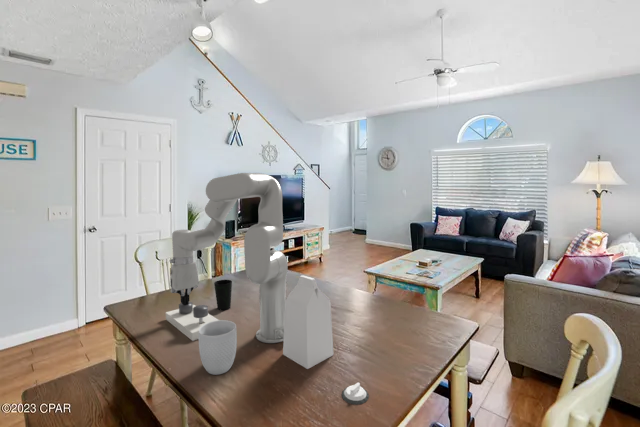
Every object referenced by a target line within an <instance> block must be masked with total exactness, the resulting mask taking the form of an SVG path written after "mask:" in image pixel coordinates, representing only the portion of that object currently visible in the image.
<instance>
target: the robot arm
mask: <svg viewBox="0 0 640 427" xmlns="http://www.w3.org/2000/svg"><path fill="white" fill-rule="evenodd" d="M205 195H206V196H207V197H206V198H208V199H209V201H208V202H207V203H206V205H205V207H204V212H205V214H206V215H207V216H208V217H209V218H210V221H209V222H208V224H207V226H206V227H205V228H204V229H197V230H193V231H191V230H189V229H178V230H173V232H172V234H171V237H172V238H171V240H172V259H169V263H170V264H171V268H170V276H169V278H170V279H169V282H170V283H169V284H170V293H172V294H177V295H180V303H182V304H183V305H186V304H187V305H188V304H189V302H190V295H191V293H192V292H193V290H195V289H197V288H198V286H199V281H200V280H199V273H198V266H197V263H196V262H195V261H194V252H196V251H199V250H202V249H206V248H210V247H212V246H214V245H215V244H216V243H217V242H218V241H219V239H220V238H221V236H222V235H223V234H224V231H225V229H226V218H227V217H228V215H229V213H230V212H231V210H232V209H233V208H234V207H235V205H236V203H237V201H238V200H239V199H249V198H259V199H260V202H259V204H258V210H257V211H258V222H257V223H255V224H253V225H251V226H250V227H249V228H248V229H247V230H246V232H245V235H244V237H243V238H244V239H243V243H244V244H243V246H244V248H243V250H244V269H245V270H244V271H245V273H246V277H247V279H248V280H249V281H250V282H251V283H252V284H254V285H257V286H259V296H258V297H259V329H258V330H257V331H256V333H255V338H256V339H257V340H258V341H259V342H261V343H266V344H276V343H281V342H283V341H284V315H285V300H286V298H287V296H286V295H287V294H286V293H287V290H286V289H287V286H286V285H287V274H288V267H289V266H288V259H287V257H286V255H285V254H284V253H283V252H282V251H280V250H276V249H274V248H276V247H277V246H280V244H281V243H282V242H283V240H284V221H283V220H284V216H283V215H284V214H283V191H282V187H281V185H280V183H279V181H278V180H277V179H276V178H274V177H273V176H271V175H269V174H266V173H262V172H240V173H239V172H238V173H234V174H229V175H225V176H217V177H215V178H212V179H210V180H209V182H208V183H207V184H206V187H205Z"/></svg>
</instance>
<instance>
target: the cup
mask: <svg viewBox="0 0 640 427" xmlns="http://www.w3.org/2000/svg"><path fill="white" fill-rule="evenodd" d="M232 290H233V281H232V280H230V279H219V280H216V281H214V293H215V299H216V306H217V307H216V308H217V311H222V312H223V311H228V310H230V309H231V304H232Z"/></svg>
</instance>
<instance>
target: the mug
mask: <svg viewBox="0 0 640 427" xmlns="http://www.w3.org/2000/svg"><path fill="white" fill-rule="evenodd" d="M237 332H238V331H237V324H236V323H235V322H234V321H231V320H226V319H221V320H220V319H218V321H212V322H209V323H206V324H204V325H203V326H201V327H200V328H199V331H198V334H199V339H198V350H199V352H198V353H199V358H200V360H201V363H202V366H203V368H204V369H205V371H206V372H207V373H208V374H210V375H214V376H215V375H216V376H218V375H223V374H225V373H227V372H228V371H229V370H230V369H231V368H232V366H233V364H234V363H235V362H234V361H235V358H236V354H237V345H238V342H237V341H238V338H237V335H238V334H237Z"/></svg>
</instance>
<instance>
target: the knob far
mask: <svg viewBox="0 0 640 427" xmlns="http://www.w3.org/2000/svg"><path fill="white" fill-rule="evenodd" d="M193 305H194V303H193V302H192V301H189V304H188V305H187V304H186V305H183V304H182V303H181V302H180V303H179V304H178V309H179V313H181V314H186V313H190V312H192V311H193Z"/></svg>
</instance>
